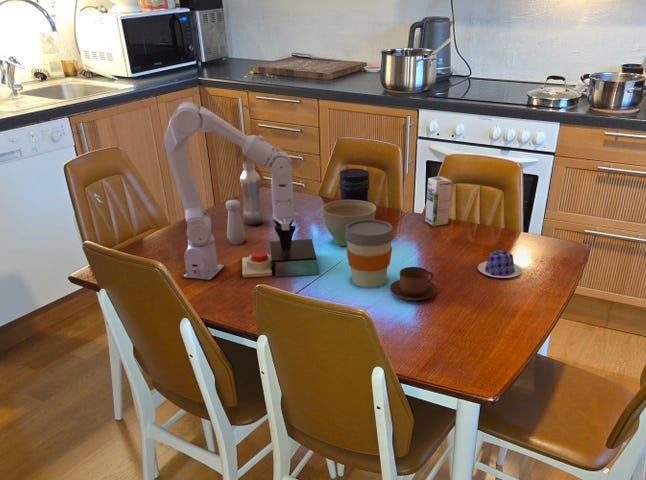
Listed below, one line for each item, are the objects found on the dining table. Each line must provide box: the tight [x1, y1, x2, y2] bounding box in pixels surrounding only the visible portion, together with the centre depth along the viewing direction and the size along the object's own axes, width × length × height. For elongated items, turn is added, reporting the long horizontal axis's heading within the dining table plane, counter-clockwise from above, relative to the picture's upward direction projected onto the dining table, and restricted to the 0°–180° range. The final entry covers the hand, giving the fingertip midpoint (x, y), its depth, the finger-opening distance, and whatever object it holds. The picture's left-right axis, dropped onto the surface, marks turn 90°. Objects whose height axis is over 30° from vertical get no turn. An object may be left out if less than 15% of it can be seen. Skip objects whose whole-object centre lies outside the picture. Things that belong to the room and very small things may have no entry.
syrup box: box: [424, 176, 452, 227], centre depth 209 cm, size 6×6×14 cm
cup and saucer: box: [389, 266, 438, 302], centre depth 164 cm, size 12×12×6 cm
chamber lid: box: [269, 238, 318, 263], centre depth 179 cm, size 12×14×4 cm
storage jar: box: [338, 168, 370, 203], centre depth 214 cm, size 10×10×15 cm
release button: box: [250, 250, 268, 262], centre depth 180 cm, size 4×4×2 cm
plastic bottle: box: [239, 160, 264, 226], centre depth 208 cm, size 6×7×20 cm
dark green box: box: [273, 259, 318, 278], centre depth 181 cm, size 11×14×4 cm
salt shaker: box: [225, 199, 247, 245], centre depth 195 cm, size 6×6×13 cm
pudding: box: [477, 249, 523, 279], centre depth 177 cm, size 12×12×5 cm
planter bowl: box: [322, 199, 377, 247], centre depth 195 cm, size 16×16×11 cm
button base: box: [241, 253, 274, 278], centre depth 181 cm, size 9×12×3 cm
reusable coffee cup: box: [345, 219, 394, 289], centre depth 170 cm, size 13×13×15 cm
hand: (285, 246), depth 179 cm, fingers closed on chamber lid, 5 cm apart
